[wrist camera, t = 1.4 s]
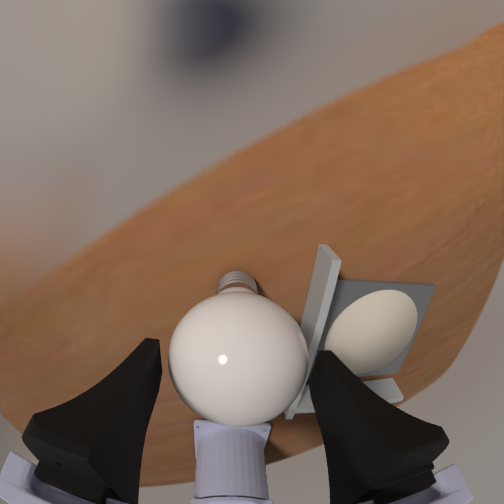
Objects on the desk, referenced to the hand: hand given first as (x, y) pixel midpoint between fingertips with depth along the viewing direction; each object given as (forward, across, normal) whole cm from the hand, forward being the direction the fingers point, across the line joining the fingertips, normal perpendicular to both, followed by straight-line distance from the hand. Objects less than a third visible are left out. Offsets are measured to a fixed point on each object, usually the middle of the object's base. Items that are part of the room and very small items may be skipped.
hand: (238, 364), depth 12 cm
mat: (+8, -12, +4) cm, 15 cm away
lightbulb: (+8, 0, 0) cm, 8 cm away
